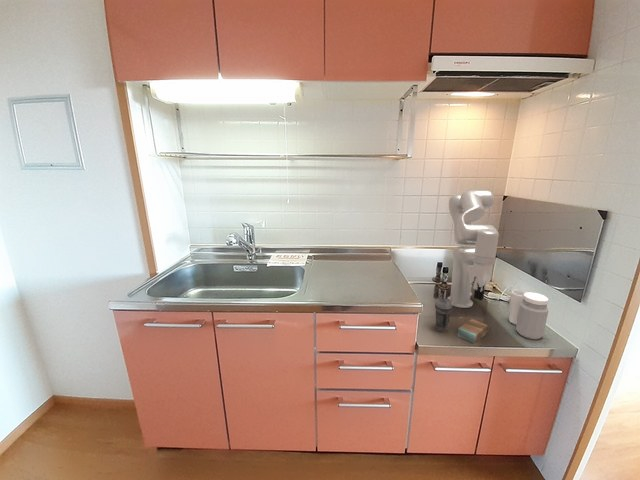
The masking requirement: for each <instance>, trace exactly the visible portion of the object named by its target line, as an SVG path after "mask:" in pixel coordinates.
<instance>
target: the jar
mask: <svg viewBox="0 0 640 480" xmlns="http://www.w3.org/2000/svg"><path fill="white" fill-rule="evenodd" d="M525 292H526V293H524V295H523V301H522V302H520V306H519V312H518V318H517V324H515V330H516V332H517V333H518V334H519V335H520V336H521V337H524V338H526V339H531V340H539V339H541V338H543V337H544V336H545V335H544V334H545V329H546V325H547V319H548V315H549V308H548V303H549V298H548V297H547V296H546V295H544V294H542V293H538V292H533V291H532V292H530V291H528V292H527V291H525Z"/></svg>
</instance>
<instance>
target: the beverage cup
mask: <svg viewBox="0 0 640 480" xmlns="http://www.w3.org/2000/svg"><path fill="white" fill-rule="evenodd" d="M446 295H447V289H444V294H443V296H441V297H439V298H437V299H436V301H435V303H434V308H435V328H436V330H437V331H438V332H440V333H441V332H442V333H444V332H447V331H448V326H449V321H450V317H451V313H452V310H453V307H454V306H452V303H451V301H450V300H449V299H448V297H446Z"/></svg>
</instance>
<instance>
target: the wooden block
mask: <svg viewBox="0 0 640 480" xmlns="http://www.w3.org/2000/svg"><path fill="white" fill-rule="evenodd" d="M488 329H489V324H485V323H484V322H482V321H479V320H476V319H473V318H471V319H469V320H468V321H466V322H465V323H463V325H460V327H458V331H457V337H459V338H461V339H463V340H466V341H467V342H469V343H472V344H476V343H477V342H478V341H479V340H481V339H482V338H483V337H485V336H486V335H487V334H488Z"/></svg>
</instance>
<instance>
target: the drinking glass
mask: <svg viewBox="0 0 640 480" xmlns="http://www.w3.org/2000/svg"><path fill="white" fill-rule="evenodd" d="M526 292H527V291H524V290H519V289H513V290H512V291H511V294H510V301H509V318H508V321H509V323H512V324H513V325H516V324H517V318H518V312H519V306H520V302H522V301H523V295H524V293H526Z"/></svg>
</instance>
